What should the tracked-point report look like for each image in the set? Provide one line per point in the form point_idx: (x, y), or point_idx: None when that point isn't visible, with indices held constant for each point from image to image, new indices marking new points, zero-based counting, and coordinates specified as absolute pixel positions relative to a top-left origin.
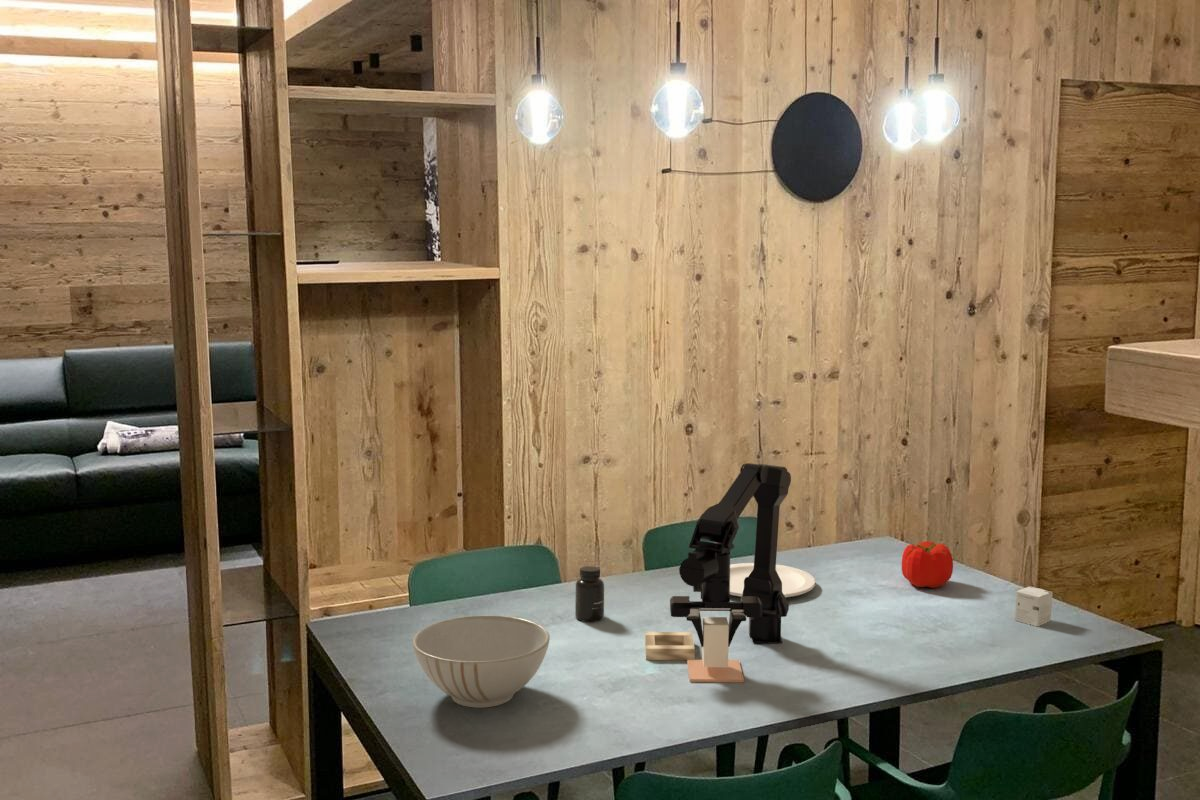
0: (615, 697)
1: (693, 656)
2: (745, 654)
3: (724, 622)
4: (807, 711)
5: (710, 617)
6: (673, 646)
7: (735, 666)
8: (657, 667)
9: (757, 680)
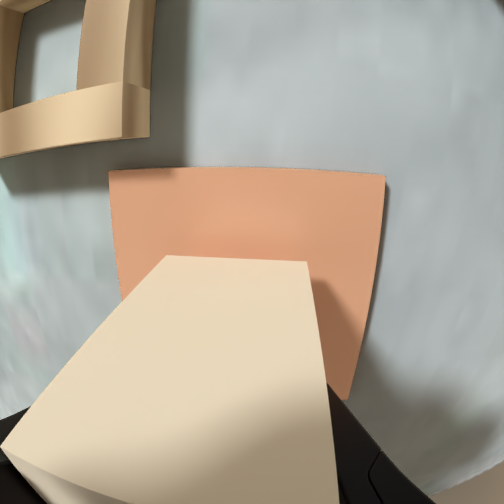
0: (14, 407)
1: (136, 137)
2: (425, 66)
3: None
4: (426, 492)
5: (84, 492)
6: (30, 119)
7: (350, 272)
8: (25, 234)
9: (401, 374)
